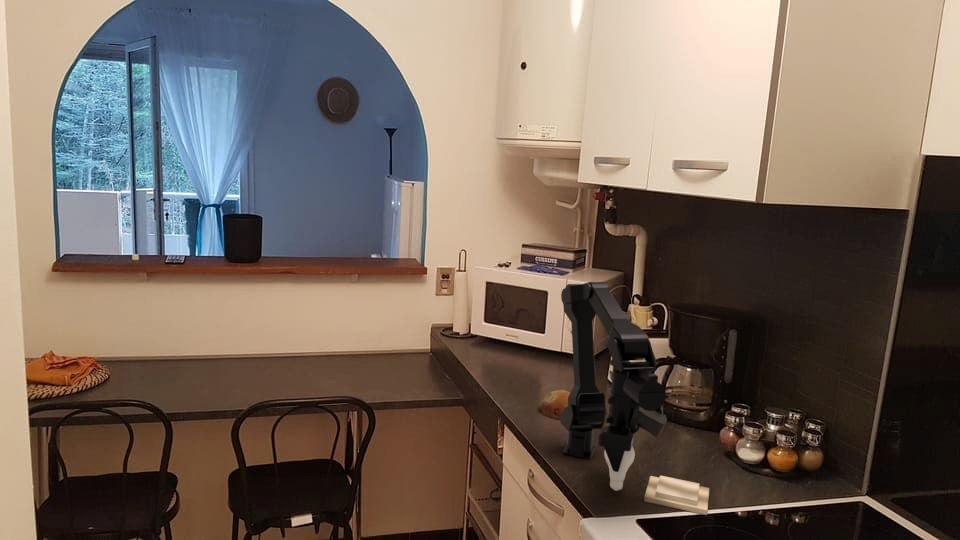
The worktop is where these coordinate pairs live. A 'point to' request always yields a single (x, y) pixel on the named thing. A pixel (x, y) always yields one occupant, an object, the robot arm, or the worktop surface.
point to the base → (677, 494)
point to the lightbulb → (620, 469)
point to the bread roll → (555, 403)
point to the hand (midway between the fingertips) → (618, 465)
